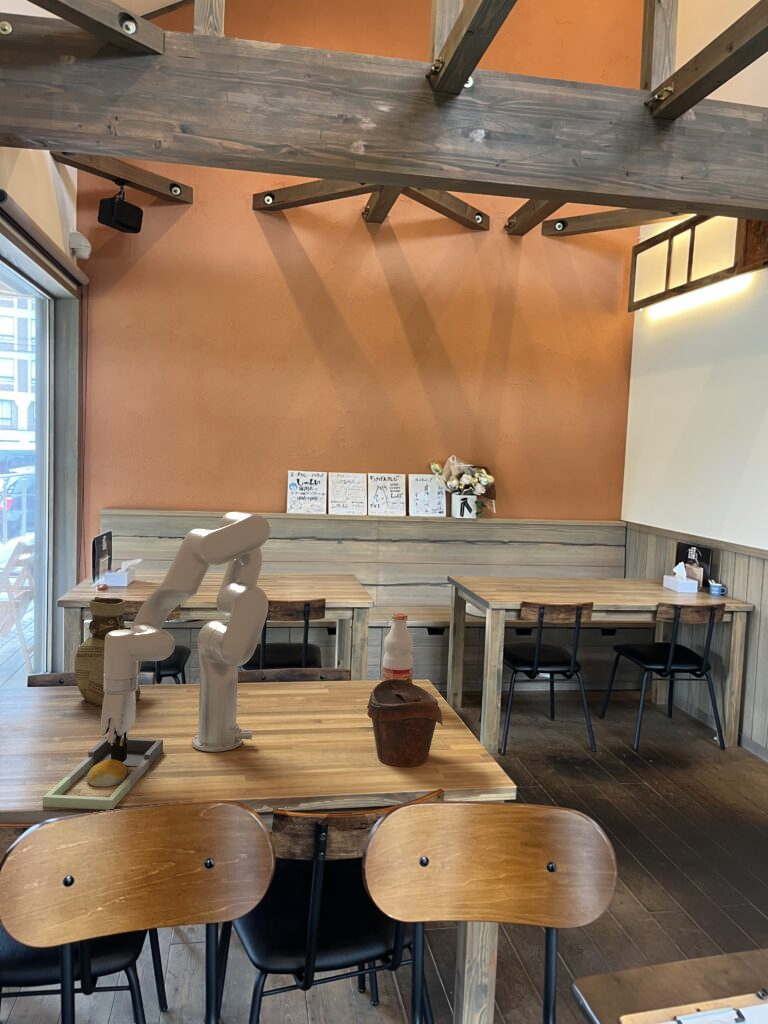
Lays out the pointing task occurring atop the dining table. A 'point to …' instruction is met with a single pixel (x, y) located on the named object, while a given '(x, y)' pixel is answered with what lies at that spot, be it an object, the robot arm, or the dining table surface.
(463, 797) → the dining table surface
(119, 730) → the robot arm
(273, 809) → the dining table surface
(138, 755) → the channel
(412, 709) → the brown trash bin
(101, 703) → the ceramic vessel
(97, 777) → the bread roll
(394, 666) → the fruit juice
